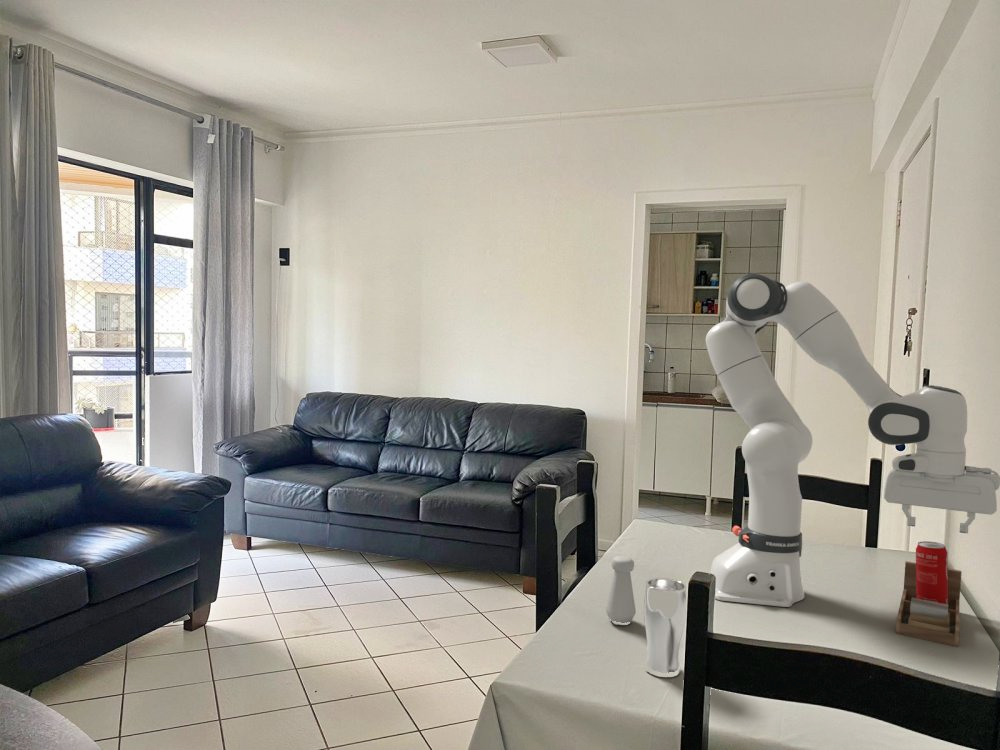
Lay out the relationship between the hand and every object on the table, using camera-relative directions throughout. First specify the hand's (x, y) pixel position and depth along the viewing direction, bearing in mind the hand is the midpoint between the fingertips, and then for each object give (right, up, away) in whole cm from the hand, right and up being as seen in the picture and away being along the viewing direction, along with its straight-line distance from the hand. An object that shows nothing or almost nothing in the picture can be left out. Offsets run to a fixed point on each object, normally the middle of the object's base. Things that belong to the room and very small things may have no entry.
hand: (937, 529), depth 152 cm
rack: (-3, -18, -3) cm, 19 cm away
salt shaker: (-68, -17, -8) cm, 70 cm away
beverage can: (-1, -18, +1) cm, 19 cm away
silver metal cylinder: (-5, -19, -6) cm, 20 cm away
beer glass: (-64, -18, -28) cm, 72 cm away
